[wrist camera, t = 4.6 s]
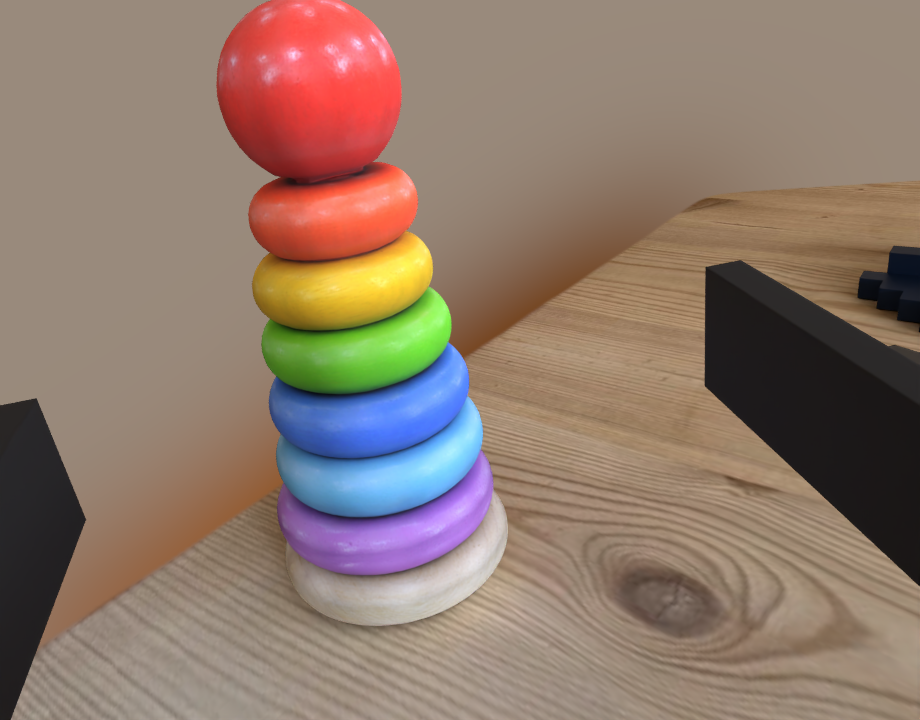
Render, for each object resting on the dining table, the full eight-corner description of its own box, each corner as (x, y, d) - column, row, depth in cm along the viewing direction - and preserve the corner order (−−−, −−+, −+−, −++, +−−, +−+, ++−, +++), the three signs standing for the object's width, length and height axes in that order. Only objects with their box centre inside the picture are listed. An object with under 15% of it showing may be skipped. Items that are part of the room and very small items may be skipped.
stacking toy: (557, 552, 28) (505, -35, 20) (369, 682, 24) (208, 7, 16) (424, 469, 34) (342, -13, 26) (254, 561, 30) (93, 22, 22)
